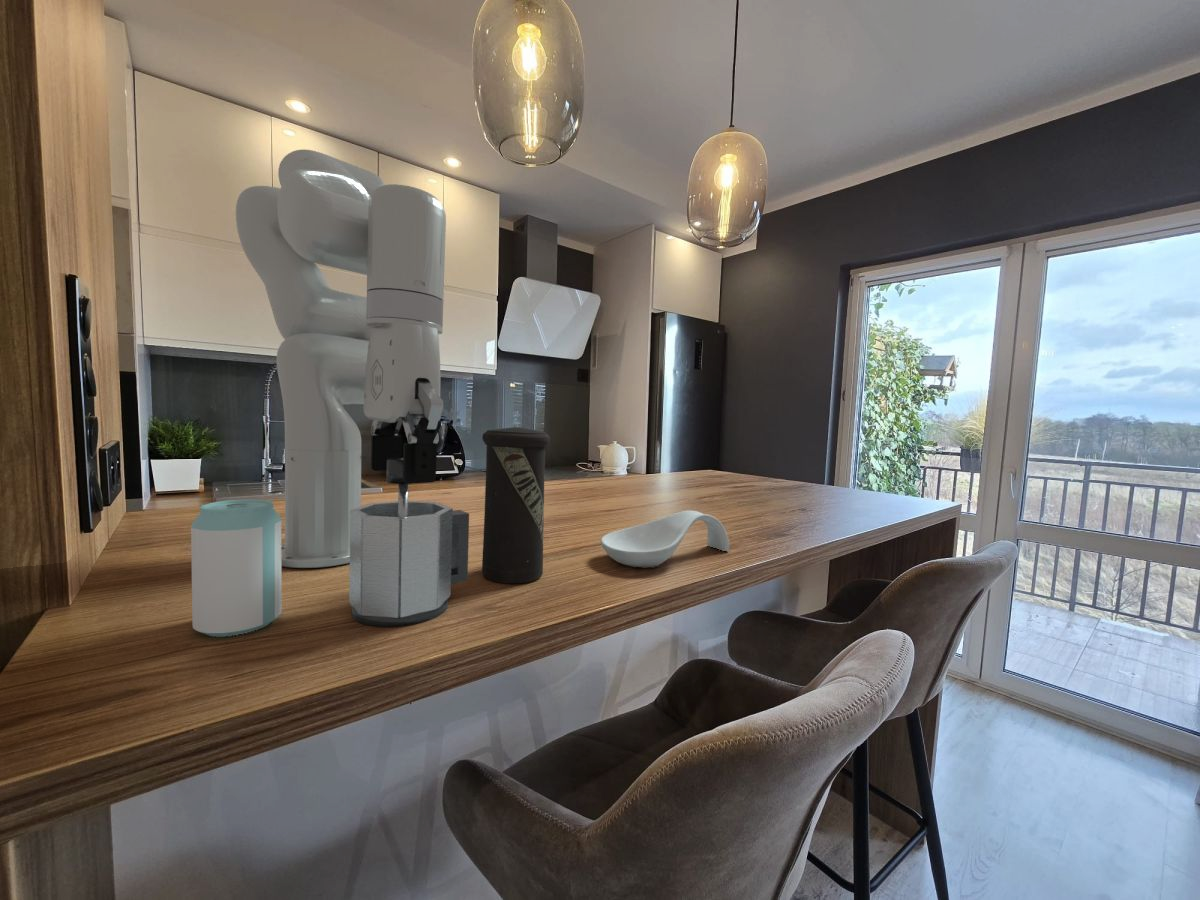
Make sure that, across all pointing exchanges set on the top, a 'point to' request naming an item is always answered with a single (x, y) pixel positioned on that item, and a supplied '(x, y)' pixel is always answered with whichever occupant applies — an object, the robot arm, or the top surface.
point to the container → (514, 505)
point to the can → (235, 567)
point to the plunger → (397, 478)
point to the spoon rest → (660, 539)
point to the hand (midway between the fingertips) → (401, 475)
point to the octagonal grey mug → (405, 561)
